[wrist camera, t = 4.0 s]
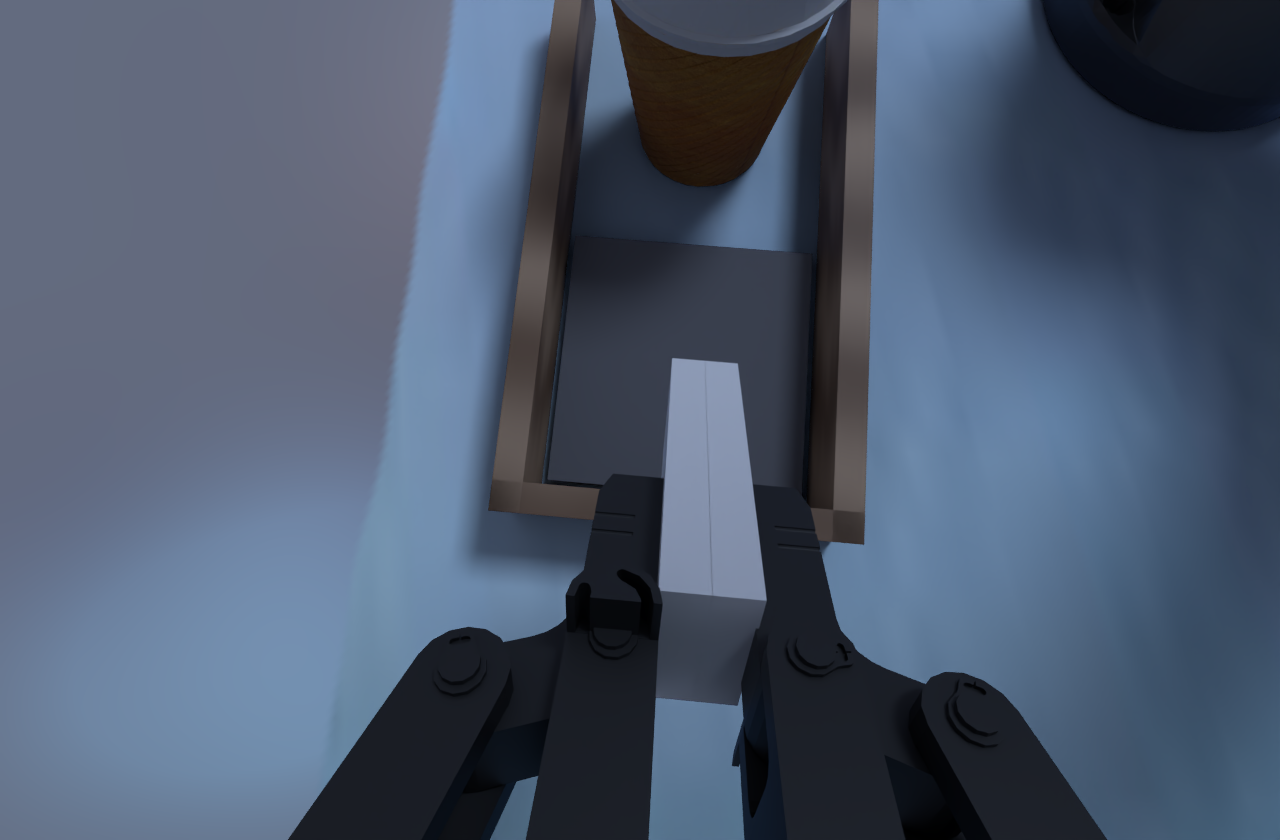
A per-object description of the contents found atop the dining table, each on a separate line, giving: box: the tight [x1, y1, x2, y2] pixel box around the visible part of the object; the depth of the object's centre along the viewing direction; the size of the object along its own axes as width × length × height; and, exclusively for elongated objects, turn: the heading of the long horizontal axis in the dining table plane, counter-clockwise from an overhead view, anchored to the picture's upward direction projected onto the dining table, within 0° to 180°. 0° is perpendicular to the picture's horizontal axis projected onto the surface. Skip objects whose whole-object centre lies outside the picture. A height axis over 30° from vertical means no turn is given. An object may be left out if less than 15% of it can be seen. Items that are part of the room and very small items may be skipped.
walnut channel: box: [488, 0, 878, 545], centre depth 27 cm, size 26×14×4 cm, turn 175°
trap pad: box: [547, 236, 812, 496], centre depth 27 cm, size 12×11×1 cm
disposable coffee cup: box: [611, 0, 847, 187], centre depth 24 cm, size 10×10×12 cm
